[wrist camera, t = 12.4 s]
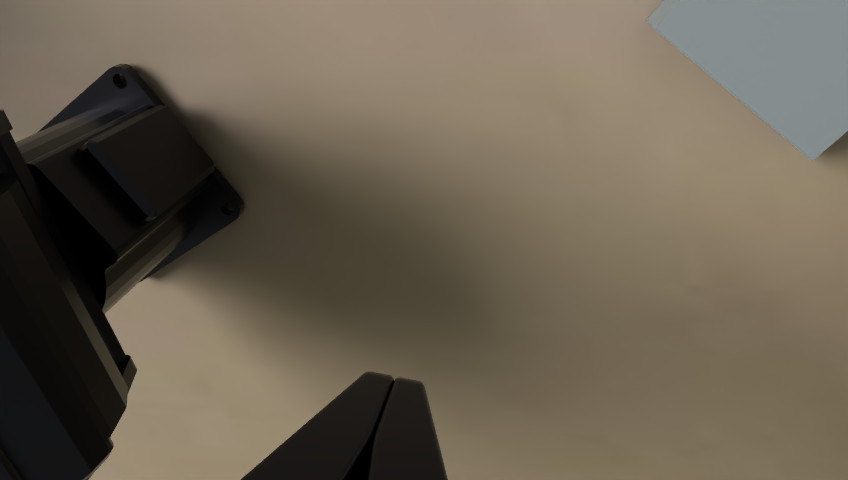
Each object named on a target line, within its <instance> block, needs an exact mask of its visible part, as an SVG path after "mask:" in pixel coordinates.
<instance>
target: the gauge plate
mask: <svg viewBox="0 0 848 480" xmlns="http://www.w3.org/2000/svg"><path fill="white" fill-rule="evenodd" d="M646 21H647V22H648V24H649V25H650V26H651V27H652V28H653V29H654V30H655V31H657V32H658V33H659V34H660V35H661V36H663V37H664V38H665V39H666V40H667V41H669V42H670V43H671V44H672V45H673V46H675V47H676V48H677V49H678V50H679V51H681V52H682V53H683V54H684V55H685V56H687V57H688V58H689V59H690V60H691V61H693V62H694V63H695V64H696V65H697V66H699V67H700V68H701V69H702V70H703V71H705V72H706V73H707V74H708V75H709V76H711V77H712V78H713V79H714V80H715V81H717V82H718V83H719V84H720V85H721V86H723V87H724V88H725V89H726V90H727V91H729V92H730V93H731V94H732V95H733V96H735V97H736V98H737V99H738V100H739V101H741V102H742V103H743V104H744V105H745V106H747V107H748V108H749V109H750V110H751V111H753V112H754V113H755V114H756V115H757V116H759V117H760V118H761V119H762V120H763V121H765V122H766V123H767V124H768V125H769V126H771V127H772V128H773V129H774V130H775V131H777V132H778V133H779V134H780V135H781V136H783V137H784V138H785V139H786V140H787V141H788V142H790V143H791V144H792V145H793V146H794V147H796V148H797V149H798V150H799V151H800V152H802V153H803V154H804V155H805V156H806V157H808V158H809V159H810V160H811V161H813V160H814V159H815V158H817V157H818V156H819V155H820V154H821V153H822V152H824V151H825V150H826V149H827V148H828V147H830V146H831V145H832V144H833V143H834V142H835V141H837V140H838V139H839V138H840V137H841V136H842V135H844V134H845V133H846V132H847V131H848V0H663V1H662V3H661V4H660V5H659V6H658V7H657V8H656V9H655V11H654V12H653V13H652V14H651V15H650V16H649V17H648V19H647V20H646Z"/></svg>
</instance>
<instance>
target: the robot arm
mask: <svg viewBox="0 0 848 480" xmlns="http://www.w3.org/2000/svg"><path fill="white" fill-rule="evenodd" d="M120 74H121V75H123V76H124V77H125V79H126V81H127V86H126V85H124V84H123V83H122V82H121V80H120ZM12 129H13V128H12V126H11V124H10V122H9V120H8V118H7V116H6V114H5V112H4V110H3V109H2V110H0V480H88V479H89V478H90V477H91V476H92V474H93V473H94V472H95V471H96V470H97V469H98V468H99V467H100V465H101V464H102V463H103V462H104V461H105V460H106V459H107V458H108V456H109V454H110V452H111V450H112V449H113V442H112V440H111V438H110V437H111V434H112V433H113V431H114V429H115V427H116V425H117V424H118V422H119V420H120V418H121V416H122V414H123V413H124V411H125V409H126V406H127V394H128V392H129V389H130V387H131V384H132V382H133V379H134V377H135V374H136V372H137V368H136V366H135V365H134V363H133V361H132V359H131V357H130V356H129V355H125V353H124V351H123V349H122V347H121V345H120V343H119V341H118V339H117V338H116V336H115V334H114V332H113V330H112V328H111V326H110V324H109V322H108V320H107V318H106V316H105V313H106V312H107V311H108V310H109V309H110V308H111V307H112V306H114V305H115V304H116V303H117V302H118V301H119V300H120V299H121V298H122V297H123V296H124V295H125V294H126V293H128V292H129V291H130V290H131V289H132V288H133V287H134V286H135V285H136V284H137V283H138V282H141V281H143V280H144V279H146V278H147V277H149V276H150V275H152V274H153V273H155V272H156V271H158V270H159V269H161V268H162V267H164V266H165V265H167V264H169V263H170V262H172V261H173V260H175V259H176V258H178V257H179V256H181V255H182V254H184V253H185V252H187V251H188V250H190V249H192V248H193V247H195V246H196V245H198V244H199V243H201V242H202V241H204V240H205V239H207V238H208V237H210V236H211V235H213V234H215V233H216V232H218V231H219V230H221V229H222V228H224V227H225V226H227V225H228V224H230V223H231V222H233V221H234V220H236V219H237V218H238V217H239V216H240V215H241V214H242V213H243V211H244V208H245V207H244V202H243V200H242V199H241V197H240V196H239V195H238V194H237V192H236V191H235V190H234V189H233V188H232V186H231V185H230V184H229V183H228V182H227V180H226V179H225V178H224V177H223V175H222V174H221V173H220V172H219V171H218V169H217V168H216V167H215V166H214V165H213V161H212V160H211V159H210V158H209V157H208V155H207V154H206V153H205V152H204V151H203V149H202V148H201V147H200V146H199V144H198V143H197V142H196V141H195V140H194V138H193V137H192V136H191V135H190V134H189V132H188V131H187V130H186V129H185V127H184V126H183V125H182V124H181V123H180V121H179V120H178V119H177V118H176V117H175V115H174V114H173V113H172V112H171V111H170V109H169V108H168V107H166V106H165V105H164V104H163V103H162V102H161V100H160V99H159V98H158V97H157V96H156V94H155V93H154V92H153V91H152V90H151V88H150V87H149V86H148V85H147V83H146V82H145V81H144V80H143V79H142V77H141V76H140V75H139V74H138V73H137V71H136V70H135V69H134V68H132V67H131V66H129V65H127V64H119V65H116V66H114V67H112V68H110V69H108V70H107V71H106V72H105V73H104V74H103V75H102V76H100V77H99V78H98V79H97V80H96V81H95V82H94V83H93V84H91V85H90V86H89V87H88V88H87V89H86V90H85V91H84V92H83V93H81V94H80V95H79V96H78V97H77V98H76V99H75V100H74V101H72V102H71V103H70V104H69V105H68V106H67V107H66V108H65V109H63V110H62V111H61V112H60V113H59V114H58V115H57V116H56V117H54V118H53V119H52V120H51V121H50V122H49V123H48V124H47V125H45V126H44V127H43V128H42V129H41V130H40V131H39V132H38V133H36V134H34V135H31V136H29V137H27V138H25V139H22V140H20V141H18V142H16V143H15V141H14V139H13V137H12V135H11V133H10V130H12ZM225 202H226V203H229V204H231V205H232V207H233V209H234V211H233V210H229V209H228V208H227V207H226V205H225ZM241 480H448V479H447V475H446V471H445V467H444V463H443V459H442V455H441V451H440V447H439V443H438V439H437V435H436V431H435V427H434V423H433V419H432V415H431V411H430V407H429V403H428V398H427V394H426V390H425V387H424V385H423V383H422V382H420V381H415V380H410V379H405V378H396V379H395V381H394V379H393V377H392V376H390V375H385V374H379V373H374V372H366V373H364V374H363V375H362V376H361V377H359V378H358V379H357V380H356V381H355V382H354V383H352V384H351V385H350V386H349V387H348V388H347V389H345V390H344V391H343V392H342V393H341V394H340V395H338V396H337V397H336V398H335V399H334V400H333V401H332V402H330V403H329V404H328V405H327V406H326V407H325V408H323V409H322V410H321V411H320V412H319V413H318V414H316V415H315V416H314V417H313V418H312V419H311V420H309V421H308V422H307V423H306V424H305V425H304V426H302V427H301V428H300V429H299V430H298V431H297V432H296V433H294V434H293V435H292V436H291V437H290V438H289V439H287V440H286V441H285V442H284V443H283V444H282V445H280V446H279V447H278V448H277V449H276V450H275V451H273V452H272V453H271V454H270V455H269V456H268V457H266V458H265V459H264V460H263V461H262V462H261V463H260V464H258V465H257V466H256V467H255V468H254V469H253V470H251V471H250V472H249V473H248V474H247V475H246V476H244V477H243V478H242V479H241Z"/></svg>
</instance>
